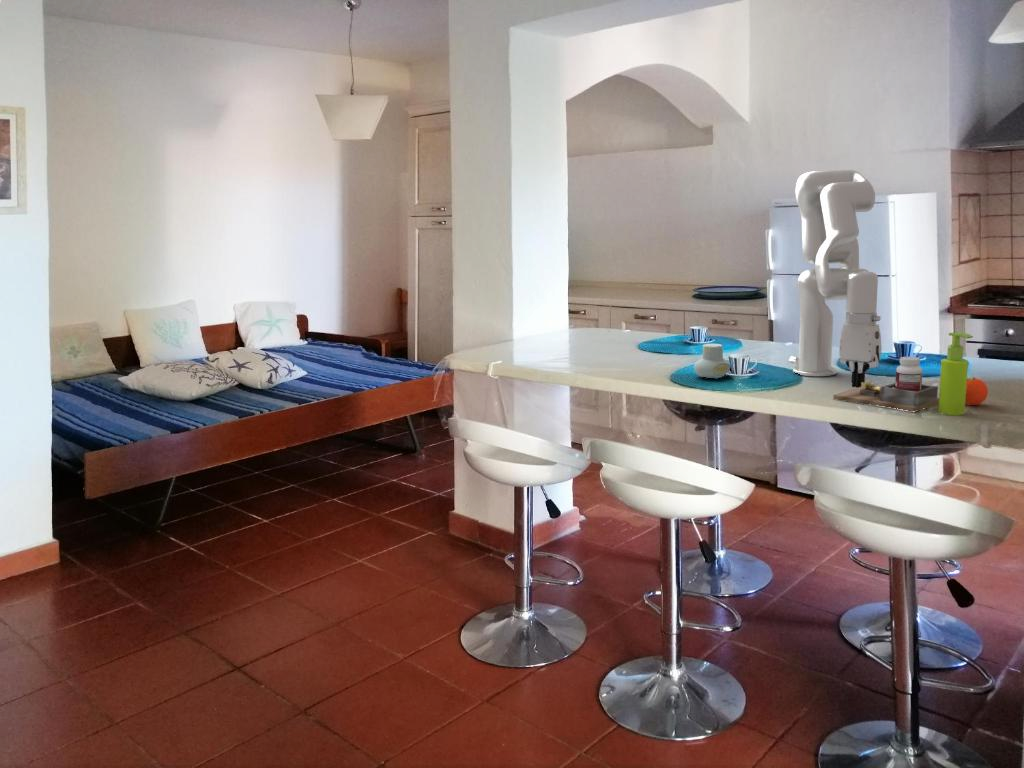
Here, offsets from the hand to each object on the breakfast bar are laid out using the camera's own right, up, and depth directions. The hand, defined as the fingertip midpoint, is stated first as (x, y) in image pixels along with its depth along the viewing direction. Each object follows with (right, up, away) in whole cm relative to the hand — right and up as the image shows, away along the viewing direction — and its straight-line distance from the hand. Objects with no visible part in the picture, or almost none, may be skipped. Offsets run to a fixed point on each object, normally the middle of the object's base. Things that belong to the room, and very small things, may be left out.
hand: (857, 386), depth 242 cm
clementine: (+24, -5, -12) cm, 27 cm away
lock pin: (+4, -2, -5) cm, 6 cm away
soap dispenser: (+16, -7, -20) cm, 26 cm away
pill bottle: (+9, -4, -10) cm, 14 cm away
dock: (+5, -4, -6) cm, 9 cm away
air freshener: (-32, +2, +32) cm, 45 cm away
